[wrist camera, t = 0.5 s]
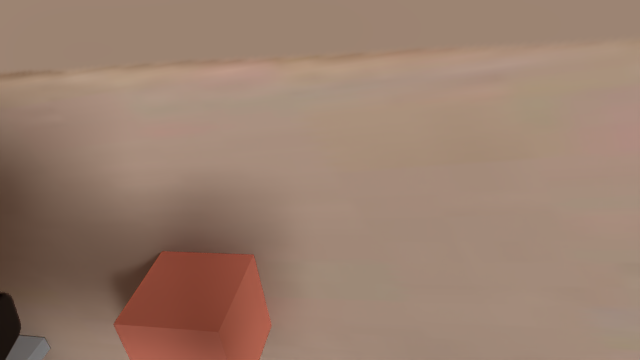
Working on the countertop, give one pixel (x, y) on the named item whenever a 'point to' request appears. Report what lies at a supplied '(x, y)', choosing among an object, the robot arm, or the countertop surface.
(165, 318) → the cube
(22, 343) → the pocket
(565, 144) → the countertop surface
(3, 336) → the robot arm
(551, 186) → the countertop surface
